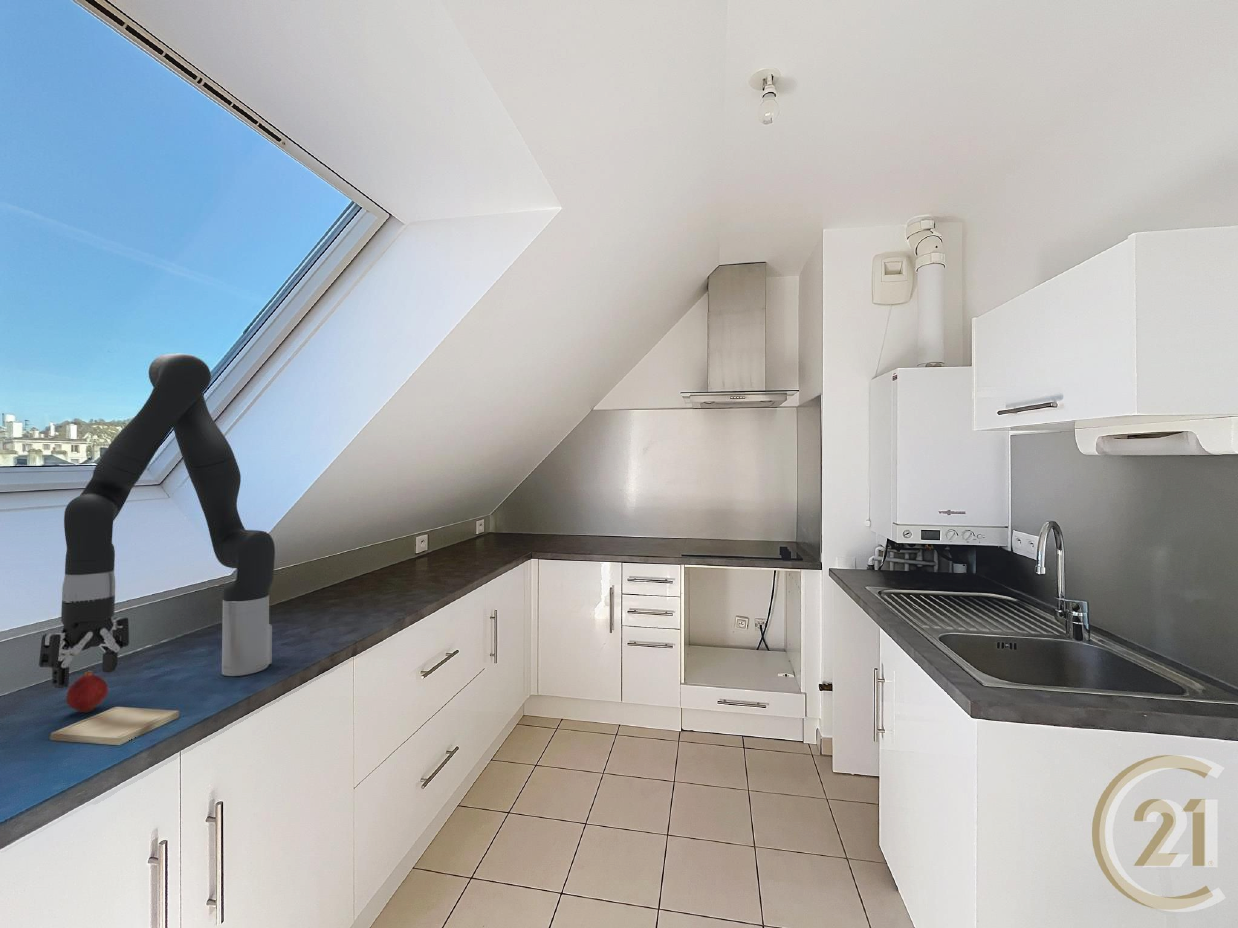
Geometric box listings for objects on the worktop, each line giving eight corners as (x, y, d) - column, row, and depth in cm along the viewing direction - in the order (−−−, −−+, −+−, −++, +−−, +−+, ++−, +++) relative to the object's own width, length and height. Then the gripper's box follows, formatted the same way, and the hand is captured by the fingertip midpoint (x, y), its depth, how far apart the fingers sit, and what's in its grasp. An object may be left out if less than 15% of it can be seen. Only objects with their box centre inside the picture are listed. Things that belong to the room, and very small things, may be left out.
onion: (76, 720, 103) (76, 678, 104) (59, 715, 106) (60, 674, 106) (113, 708, 109) (114, 668, 109) (97, 704, 111) (97, 664, 111)
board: (116, 712, 107) (116, 706, 107) (179, 716, 105) (179, 710, 105) (50, 739, 96) (50, 732, 96) (119, 745, 94) (119, 737, 94)
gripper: (109, 588, 115) (106, 666, 114) (29, 602, 101) (25, 692, 100) (141, 589, 114) (139, 667, 113) (65, 603, 100) (61, 693, 99)
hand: (85, 679), depth 107 cm, fingers open, 8 cm apart
